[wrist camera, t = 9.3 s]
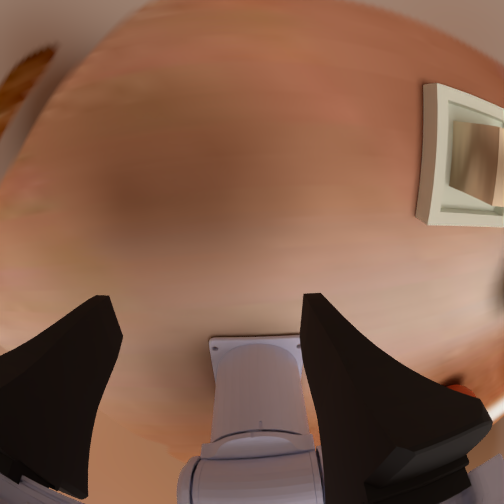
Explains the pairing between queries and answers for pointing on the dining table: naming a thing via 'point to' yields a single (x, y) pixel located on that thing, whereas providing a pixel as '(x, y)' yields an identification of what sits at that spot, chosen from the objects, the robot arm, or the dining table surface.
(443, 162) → the tray
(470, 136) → the maple block
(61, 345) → the robot arm
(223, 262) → the dining table surface
